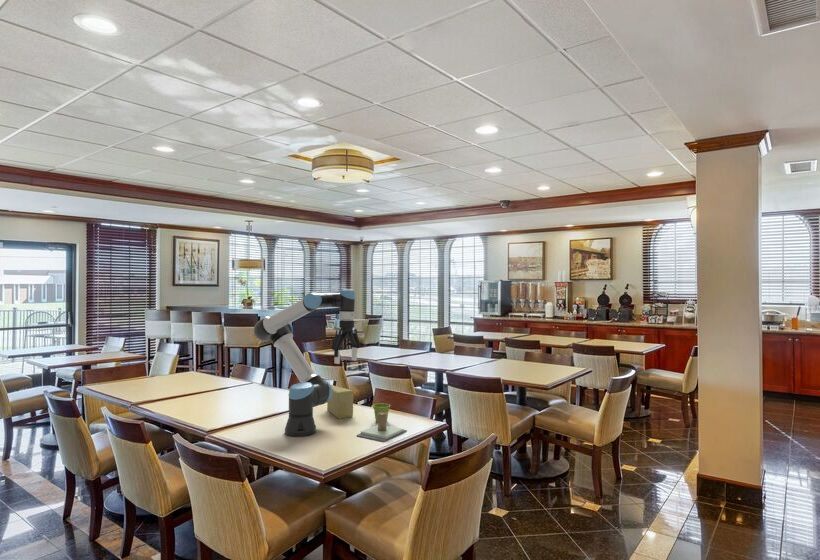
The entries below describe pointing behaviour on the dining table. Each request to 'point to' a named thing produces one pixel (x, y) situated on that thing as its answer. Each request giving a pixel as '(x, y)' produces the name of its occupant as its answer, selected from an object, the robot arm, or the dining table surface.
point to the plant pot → (380, 409)
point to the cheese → (341, 402)
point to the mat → (377, 437)
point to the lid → (382, 428)
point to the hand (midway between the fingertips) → (345, 362)
